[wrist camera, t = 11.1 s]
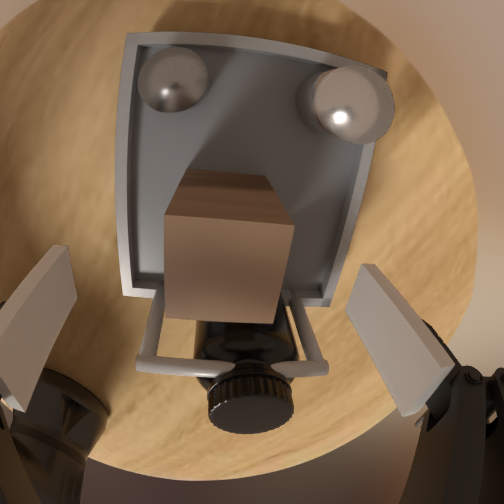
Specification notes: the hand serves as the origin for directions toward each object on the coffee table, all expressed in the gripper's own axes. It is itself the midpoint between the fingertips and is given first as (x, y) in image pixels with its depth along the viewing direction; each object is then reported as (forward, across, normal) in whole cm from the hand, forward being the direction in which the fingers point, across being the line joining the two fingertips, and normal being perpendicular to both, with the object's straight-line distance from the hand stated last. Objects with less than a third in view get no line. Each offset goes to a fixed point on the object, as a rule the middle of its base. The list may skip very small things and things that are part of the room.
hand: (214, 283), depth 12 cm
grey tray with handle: (+10, +2, +3) cm, 11 cm away
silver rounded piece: (+8, +6, +8) cm, 13 cm away
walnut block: (+8, 0, 0) cm, 8 cm away
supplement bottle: (+10, +3, -7) cm, 13 cm away
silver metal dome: (+8, -3, +8) cm, 12 cm away
